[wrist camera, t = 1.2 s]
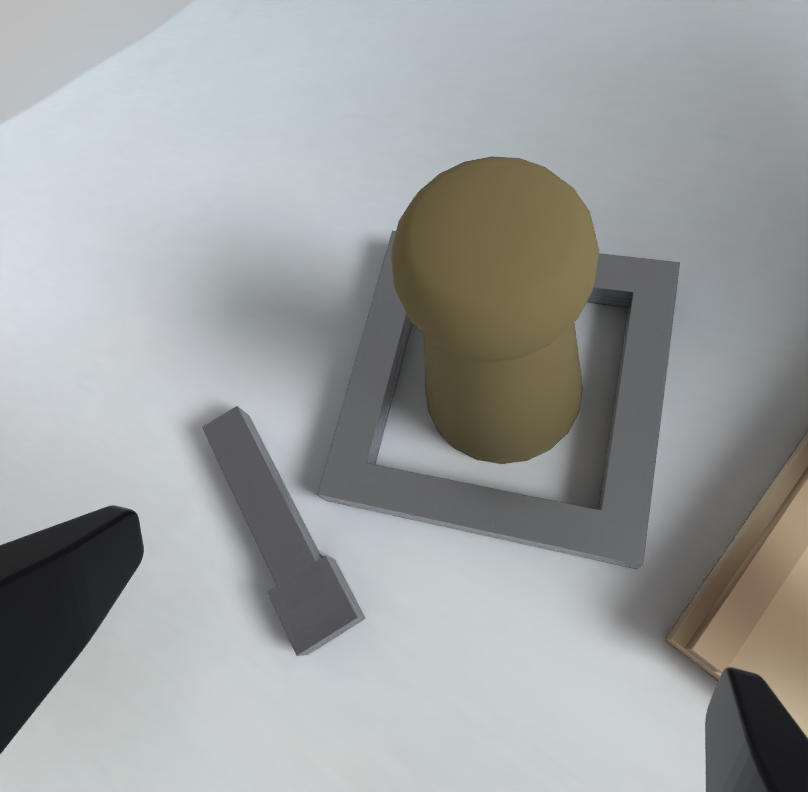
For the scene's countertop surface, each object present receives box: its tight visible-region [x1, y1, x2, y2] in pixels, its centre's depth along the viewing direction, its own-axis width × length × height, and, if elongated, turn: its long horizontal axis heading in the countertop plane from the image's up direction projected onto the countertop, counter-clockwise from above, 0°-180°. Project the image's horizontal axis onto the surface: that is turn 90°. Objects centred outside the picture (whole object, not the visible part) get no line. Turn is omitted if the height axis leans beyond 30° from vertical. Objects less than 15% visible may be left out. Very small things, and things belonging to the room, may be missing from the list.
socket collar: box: [318, 231, 680, 569], centre depth 24 cm, size 11×11×1 cm
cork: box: [391, 157, 599, 464], centre depth 20 cm, size 6×6×11 cm
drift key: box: [202, 406, 365, 656], centre depth 24 cm, size 9×2×1 cm, turn 31°
